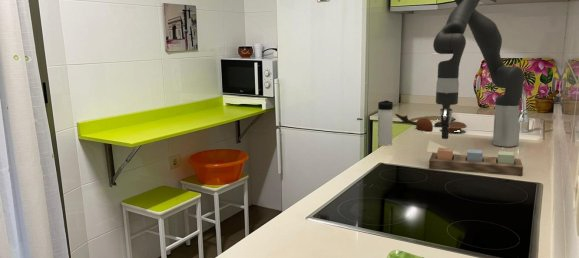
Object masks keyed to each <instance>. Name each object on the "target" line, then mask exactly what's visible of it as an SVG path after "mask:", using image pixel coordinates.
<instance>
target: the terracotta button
mask: <svg viewBox="0 0 579 258" xmlns="http://www.w3.org/2000/svg"><path fill="white" fill-rule="evenodd" d="M436 153H437V159H445V160H452V158H453V154H454V148H451V147H449V148H448V147H438V149H437V152H436Z"/></svg>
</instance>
